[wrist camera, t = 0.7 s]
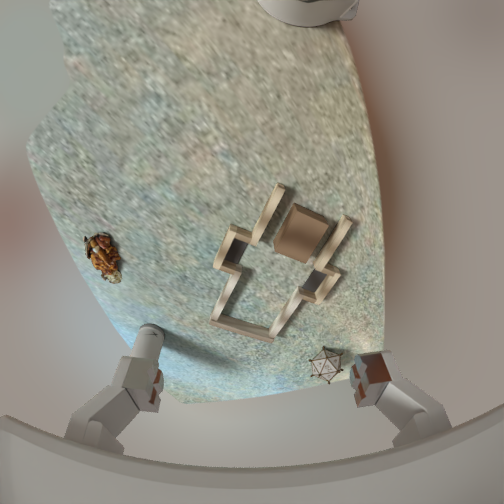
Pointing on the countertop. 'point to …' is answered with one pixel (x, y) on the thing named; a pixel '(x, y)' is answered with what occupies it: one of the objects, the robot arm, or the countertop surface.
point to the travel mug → (148, 342)
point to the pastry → (103, 256)
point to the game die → (326, 365)
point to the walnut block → (300, 233)
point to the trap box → (311, 290)
